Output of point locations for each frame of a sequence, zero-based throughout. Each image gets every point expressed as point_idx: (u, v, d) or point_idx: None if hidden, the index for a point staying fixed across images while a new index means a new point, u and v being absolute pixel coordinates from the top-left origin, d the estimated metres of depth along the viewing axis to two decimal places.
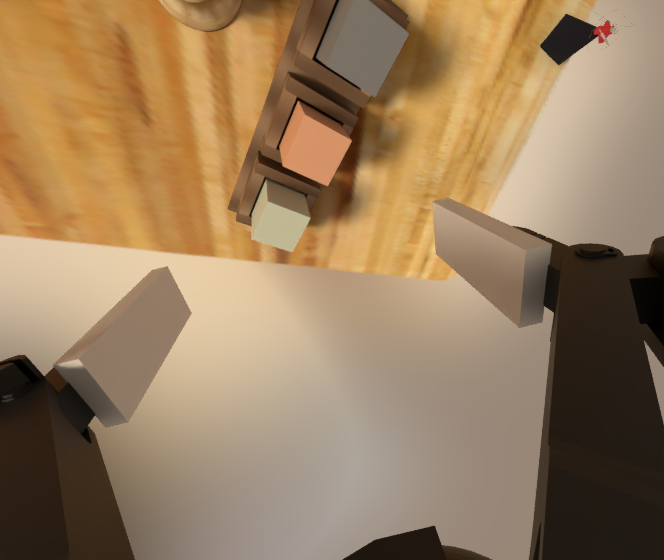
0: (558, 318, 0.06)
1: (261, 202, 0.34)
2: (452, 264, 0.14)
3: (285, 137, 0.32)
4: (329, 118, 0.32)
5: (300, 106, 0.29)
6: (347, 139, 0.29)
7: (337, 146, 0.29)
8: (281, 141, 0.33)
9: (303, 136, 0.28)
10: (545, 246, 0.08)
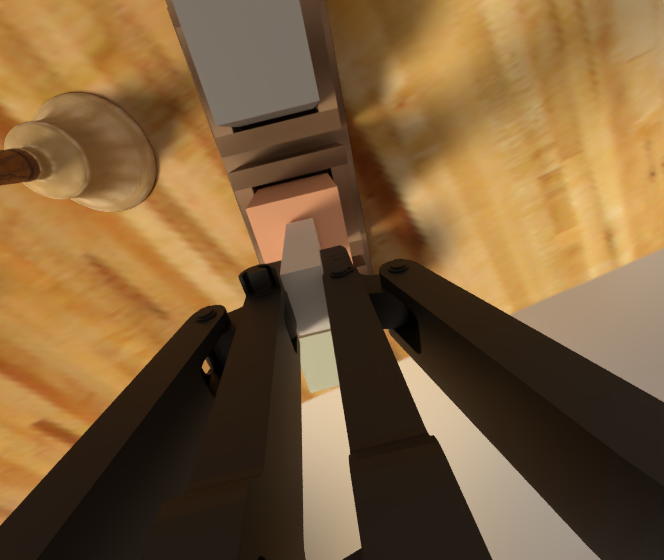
0: (332, 334, 0.07)
1: None
2: None
3: None
4: (308, 177, 0.21)
5: (253, 197, 0.19)
6: (329, 190, 0.16)
7: (322, 211, 0.17)
8: None
9: (267, 235, 0.17)
10: (315, 267, 0.11)
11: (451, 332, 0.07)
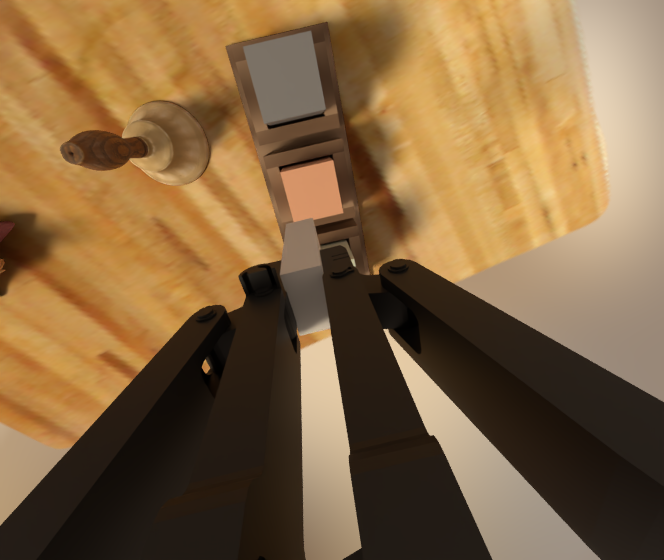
0: (332, 334, 0.07)
1: None
2: None
3: None
4: (316, 158, 0.33)
5: (282, 169, 0.31)
6: (328, 162, 0.28)
7: (324, 175, 0.28)
8: None
9: (291, 189, 0.29)
10: (315, 267, 0.11)
11: (451, 332, 0.07)
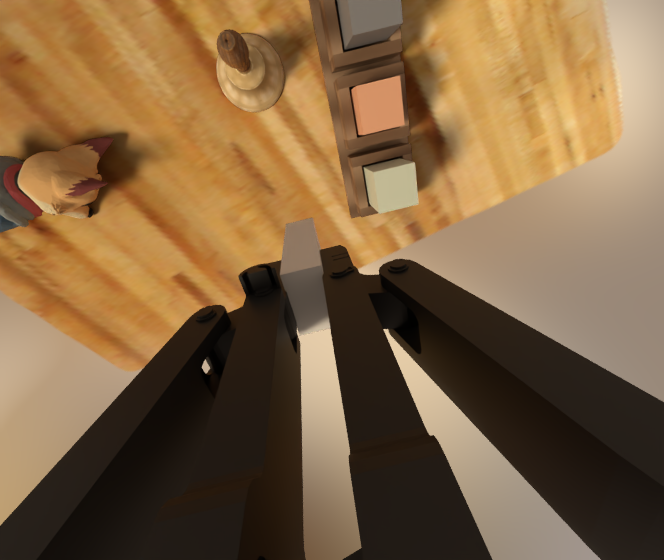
0: (332, 334, 0.07)
1: (370, 183, 0.39)
2: None
3: None
4: None
5: (351, 90, 0.36)
6: (395, 77, 0.33)
7: (392, 89, 0.34)
8: None
9: (364, 102, 0.34)
10: (315, 266, 0.11)
11: (451, 332, 0.07)
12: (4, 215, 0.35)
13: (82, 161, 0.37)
